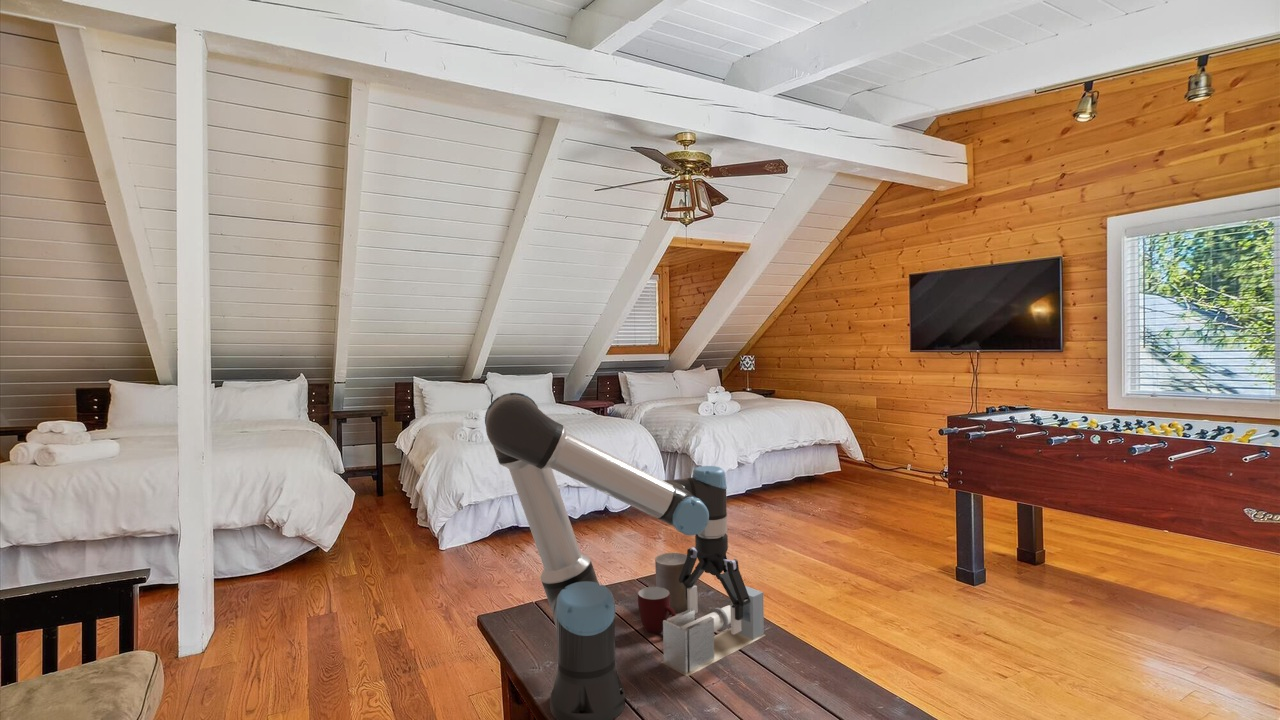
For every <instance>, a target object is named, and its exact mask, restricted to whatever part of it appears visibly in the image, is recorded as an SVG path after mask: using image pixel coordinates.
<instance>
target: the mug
mask: <svg viewBox="0 0 1280 720" xmlns="http://www.w3.org/2000/svg"><path fill="white" fill-rule="evenodd" d="M637 605H638V610H639V615H640V621H641V625H642V626H643V628H644V630H645V632H647V633H650V634H660V633H663V621H664V620H666V621H667V619H668V618H669V615H668V614H669V613H670V614H671V615H670V618H671V617H673V616H675V615H677V613H675V611H674V609H673V608H671V607H670V592H669V591H668V590H667V589H665V588H662V587H656V586H648V587H647V586H646V587H643V588H641V589H639V590H638V592H637Z"/></svg>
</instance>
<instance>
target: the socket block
mask: <svg viewBox="0 0 1280 720" xmlns="http://www.w3.org/2000/svg"><path fill="white" fill-rule="evenodd" d="M745 587H746V590H747V593H748V595H749V598H750V603H748V604H746V605H744V606H743V619H741V630H742V631H740V632H738V633H739V634H742V635H744V636H746V637H748V638H751V639H753V640H754V639H756V638H757V637H759V636H761V635H763V634H764V633H765V632H764V630H765V629H764V623H765V622H764V619H765V616H764V613H765V612H764V611H765V610H764V592H763V591H761V590H758V589H755V588H752V587H749V586H747V585H745ZM736 599H737V598H736ZM737 600H738V599H737ZM730 605H733V603H732V601H731V600H730ZM764 635H765V634H764Z"/></svg>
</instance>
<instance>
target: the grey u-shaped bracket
mask: <svg viewBox="0 0 1280 720" xmlns="http://www.w3.org/2000/svg"><path fill="white" fill-rule="evenodd" d="M694 620H696V617H695V610H694V609H689V610H687V611H684V612H680V613H678V614H676V615H675V616H673V617H671V616H670V617H668V619H667V621H666V620H664V621H663V631H662V633H663V634H662V639H663V640H662V642H663V643H662V645H663V648H662V650H663V661H664V663H665V664H667V665H669V666H671V667H672V668H674V669H676V670H678V671H680V672H682V673H684V674H685V675H686V674H688V672H689V673H690V672H692V671H694V670H696V669H698V668H700V667H702V666H704V665H706V664H707V663H709V662H711V661H713V660H714V636H715V632H714V618H712V617H709V618H707V619H704V620H702V621H700V622H698V623H696V624H693V625H691V626H689V627H687V628H686V630H685V629H683V628H681V626H683V625H685V624H687V623H690V622H692V621H694ZM665 664H664V665H665ZM667 665H666V666H667ZM672 668H671V669H672ZM674 669H673V670H674ZM676 670H675V671H676ZM678 671H677V672H678ZM685 675H684V676H685Z"/></svg>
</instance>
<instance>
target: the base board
mask: <svg viewBox="0 0 1280 720" xmlns="http://www.w3.org/2000/svg"><path fill="white" fill-rule="evenodd" d="M764 637H766V634H763V635H761V636H759V637H757V638H756V639H754V640H753V639H751V638H748V637H746V636H744V635H742V634H739V633H736V634H734V635H733V634H731V627H730V628H727V629H725V630H723V631H721V632H720V633H718V634H716V635H714V660H713V661H711V662H709V663H707V664H706V665H704V666H702V667H700V668H698V669H696V670H694V671H692V672H690V673H689V672H688V674H686V675H685V674H684V673H682V672H680V671H678V670H676V669H674V668H672V667H671V666H669V665H667V664H665V663H664V660H662V661H660V663H661V664H663V665H665V666H667V667H669V668H670V669H672V670H674V671H676V672H677V673H679V674H681V675H683V676H685V677H689V676H692V675H693V674H695V673H698V672H699V671H701V670H703V669H705V668H708V667H709V666H711V665H712V664H714V663H716V662H719V661H720V660H721V659H723V658H726V657H727V656H730V655H731V654H733V653H735V652H737V651H739V650H741V649H742V648H745V647H747V646H749V645H750V644H752V643H755V642H756V641H758V640H761V639H762V638H764Z"/></svg>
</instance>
